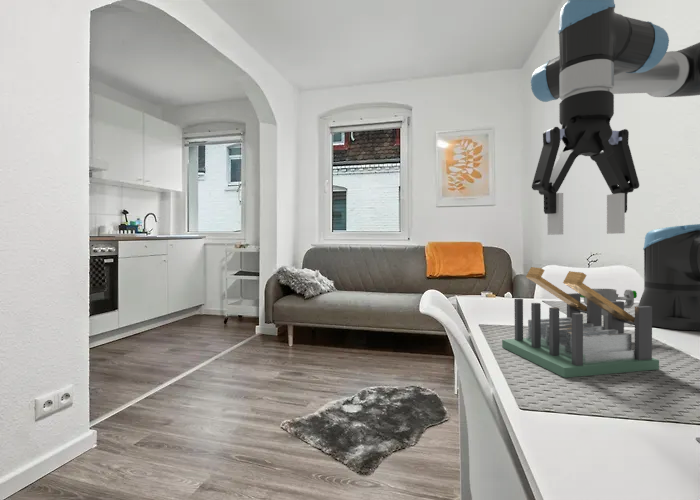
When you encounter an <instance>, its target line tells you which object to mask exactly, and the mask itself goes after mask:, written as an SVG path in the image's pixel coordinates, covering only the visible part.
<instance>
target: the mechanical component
mask: <svg viewBox="0 0 700 500" xmlns="http://www.w3.org/2000/svg"><path fill="white" fill-rule="evenodd" d="M591 289H592V290H594V291H595V292H597V293H599V294H600V295H602V296H603V297H605V298H606V299H608V300H609V301H624V309H630V308H633V306H634V302H635V299H637V297H638V293H637V291H636V290H632V289H625V290H624V293H623V296H619V294H618V293H617V289H613V288H591ZM581 298H583V304H584V305H585V306H587V298H585V297H584V296H582V295H581V294H580V299H581ZM602 318H603V319H602V320H603V321H602V322H603V323H602V326H603V327H605V330H608V312H607V311H605V310H604V309H602Z"/></svg>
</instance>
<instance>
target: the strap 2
mask: <svg viewBox="0 0 700 500" xmlns="http://www.w3.org/2000/svg"><path fill="white" fill-rule="evenodd" d="M586 277H587V274H586V273H584V272H580V271H571V270H570V271H568V272H567V275H566V276H565V278H564V280H563V282H562V283H563V284H564V285H566V286H567V287H568V288H571V290H573V291H575V292H576V293H579V294H581V295H582V296H584V297H585V298H587V299H589V300H590V301H592V302H593V303H595V304H596V305H598V306H599V307H601V308H602V309H604V310H605V311H607V312H608V313H610V314H611V315H613V316H614V317H616V318H617V320H618V321H620V322H624V324H629V325H633V326H635V316H633V315H632V314H631V313H629V312H627V311H625V309H624V310H623V309H621V308H620V307H618V306H617V305H615V304H614V303H612V302H611V301H609V300H608V299H606V298H605V297H603V296H602V295H600V294H599V293H597V292H595V291H594V290H592V289H593V288H591V287H589V286H588V285H586V284H585V283H584V281H585V279H586Z"/></svg>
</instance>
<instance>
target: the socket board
mask: <svg viewBox="0 0 700 500" xmlns="http://www.w3.org/2000/svg"><path fill="white" fill-rule="evenodd" d="M501 347H502V349H505V350H507V351H509V352H511V353H513V354H515V355H517V356H519V357H521V358H523V359H525V360H528V361H529V362H531V363H534V364H535V365H537V366H540V367H541V368H544V369H545V370H548V371H550V372H552V373H553V374H556V375H558V376H560V377H561V378H565V379H566V378H577V377H585V376H586V377H587V376H599V375H609V374H620V373H621V374H622V373H633V372H642V371H643V372H645V371H655V370H656V371H657V370H660V360H659V359H658V358H654V357H652V359H651V360H636V359H635V360H625V361H613V362H601V363H588V364H585V363H583V365H581V366H575V365H573V364H572V358H570V357H568V356H565V355H563V354H560V353H559V356H552V355H550V354H549V349H548V348H546V347H543V346H541V348H533V347H532V342H531V341H529V340H526V337H523V340H520V341H517V340H515V338H506V339H501Z"/></svg>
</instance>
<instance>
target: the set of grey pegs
mask: <svg viewBox="0 0 700 500" xmlns="http://www.w3.org/2000/svg"><path fill="white" fill-rule="evenodd" d="M567 294H568V295H570V296H571V297H573V298H574V299H576V300H577V301H579V302H580V303H581V297H580V294H579V293H578V292H576V293H572V292H571V293H567ZM611 302H612V303H614V304H615V305H617V306H618V307H620V308H621V309H623V310H624V311H625V308H624V303H625V301H624V300H616V301H611ZM541 305H542V304H541V302H540V303H539V302H531V307H530V309H531V315H530V316H531V319H530V320H531V333H532V347H533V348H541V319H542V318H541V316H542V313H541V312H542V311H541V307H542V306H541ZM586 306H587V313H586V323H592V324H594V326H603V323H602V322H603V321H602V320H603V319H602V318H603V315H602V308H601V307H599V306H598V305H596V304H595V303H593V302H592V301H590V300H589V299H587V305H586ZM548 312H549V313H548V314H549V315H548V319H549V354H550V355H552V356H559V318H560V307H558V306H557V307H556V306H554V307H548ZM567 317H570V318H572V364H573V365H575V366H581V365H583V323H584V314H583V313H582V312H578V311H575V310H574V308H573V307H571V306H570V305H568V304H567V303H566V318H567ZM634 317H635V325H634V350H635V359H636V360H651V359H652V358H653V326H652V307H650V306H639V305H638V306H634ZM611 329H615V330H618V334H619V333H625V332H624V331H625V323H624V322H620V321H618V320H617V318H616V317H614V316H613V315H611V314H610V313H608V330H611ZM523 338H524V299H523V298H514V339H515V340H517V341H520V340H523Z"/></svg>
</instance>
